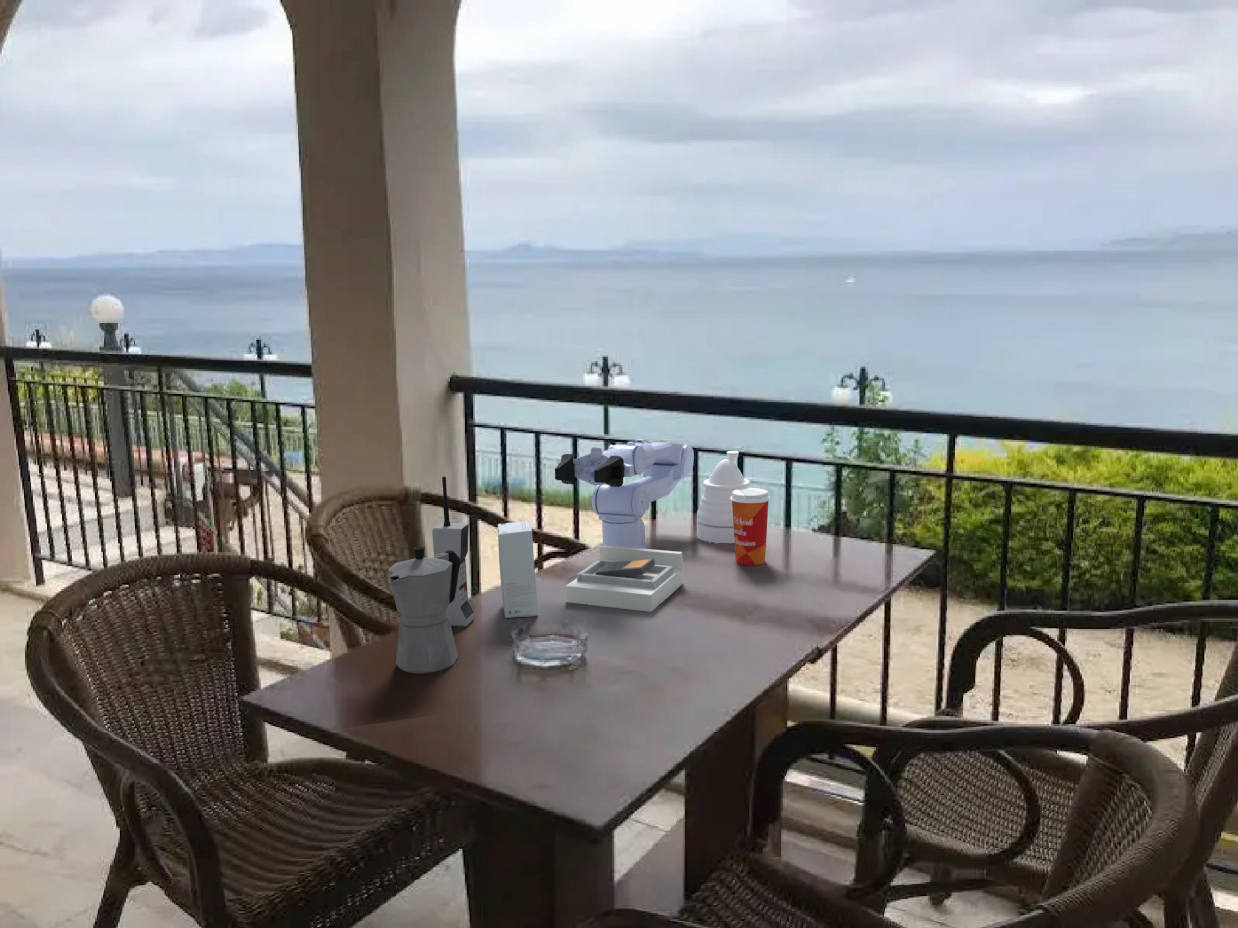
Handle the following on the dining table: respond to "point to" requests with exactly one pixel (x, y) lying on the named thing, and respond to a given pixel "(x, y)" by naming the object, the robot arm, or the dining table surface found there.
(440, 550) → the vintage mobile phone
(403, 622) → the coffeepot
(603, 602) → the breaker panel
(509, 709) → the dining table surface
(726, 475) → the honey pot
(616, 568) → the block
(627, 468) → the robot arm
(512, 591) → the skincare box
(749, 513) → the paper cup
